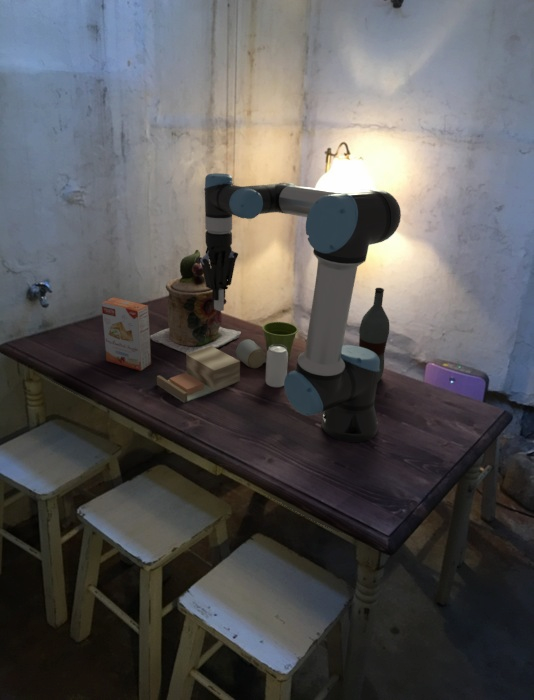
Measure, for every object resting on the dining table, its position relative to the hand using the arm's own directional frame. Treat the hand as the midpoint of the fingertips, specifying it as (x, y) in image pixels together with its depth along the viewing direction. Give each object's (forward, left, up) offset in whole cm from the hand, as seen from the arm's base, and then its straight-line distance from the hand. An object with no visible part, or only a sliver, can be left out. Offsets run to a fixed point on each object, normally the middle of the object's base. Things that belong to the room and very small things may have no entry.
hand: (218, 309), depth 171 cm
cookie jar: (+28, -12, -23) cm, 38 cm away
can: (-15, -11, -23) cm, 29 cm away
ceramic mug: (0, -15, -23) cm, 27 cm away
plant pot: (-3, -24, -23) cm, 33 cm away
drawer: (0, +12, -23) cm, 26 cm away
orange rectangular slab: (0, +12, -20) cm, 24 cm away
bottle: (-31, -37, -23) cm, 53 cm away
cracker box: (+25, +17, -23) cm, 38 cm away
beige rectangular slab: (0, +2, -23) cm, 23 cm away
